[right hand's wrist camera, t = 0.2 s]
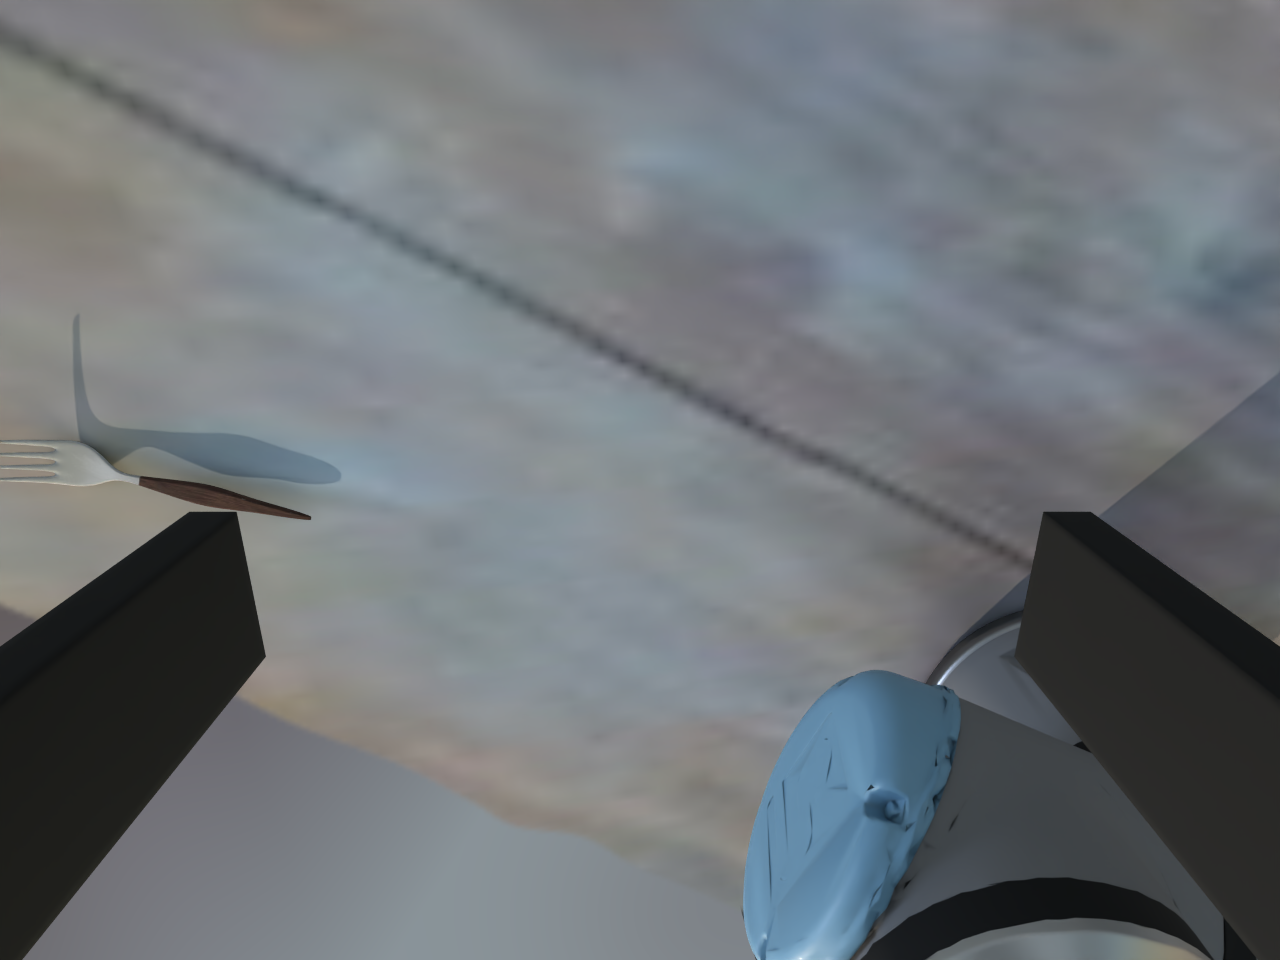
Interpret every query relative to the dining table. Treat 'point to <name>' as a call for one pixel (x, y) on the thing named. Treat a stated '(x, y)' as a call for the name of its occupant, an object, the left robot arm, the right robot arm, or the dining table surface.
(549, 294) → the dining table surface
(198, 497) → the fork
